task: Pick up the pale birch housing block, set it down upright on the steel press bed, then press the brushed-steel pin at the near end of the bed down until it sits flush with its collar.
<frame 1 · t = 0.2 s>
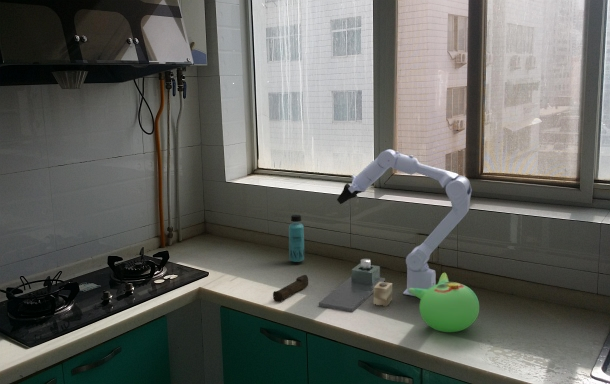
hand: (342, 199, 201), 31 cm above the worktop, tool tilted 45°, fingers open, 7 cm apart
hand tool: (291, 293, 198), on the worktop
press pin: (365, 265, 205), point 6 cm above the worktop, slide at 0.0 cm
housing: (382, 302, 187), on the worktop
beverage bottle: (297, 263, 230), on the worktop
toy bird: (447, 328, 167), on the worktop
press bed: (363, 284, 204), on the worktop
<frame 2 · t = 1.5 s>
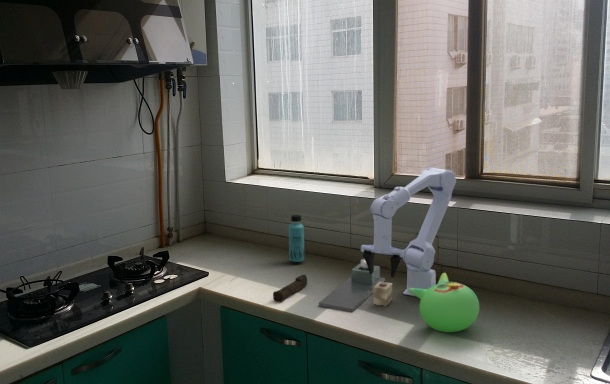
hand: (382, 274, 186), 10 cm above the worktop, tool pointing down, fingers open, 7 cm apart
nothing on the worktop moved.
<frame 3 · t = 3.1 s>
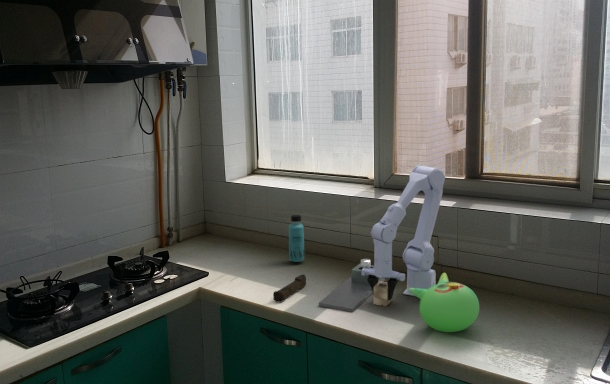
hand: (382, 298, 187), 1 cm above the worktop, tool pointing down, fingers closed on housing, 4 cm apart
housing: (382, 302, 187), on the worktop, touching gripper
everything else where it was.
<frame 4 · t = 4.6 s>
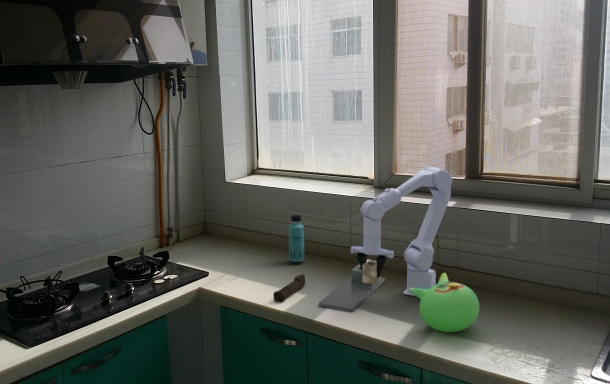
hand: (371, 275, 188), 8 cm above the worktop, tool pointing down, fingers closed on housing, 4 cm apart
housing: (371, 280, 188), point 7 cm above the worktop, touching gripper
everything else where it was.
when the fingers open (4 cm above the worktop, at t = 6.3 s): housing drops 1 cm, resting on press bed.
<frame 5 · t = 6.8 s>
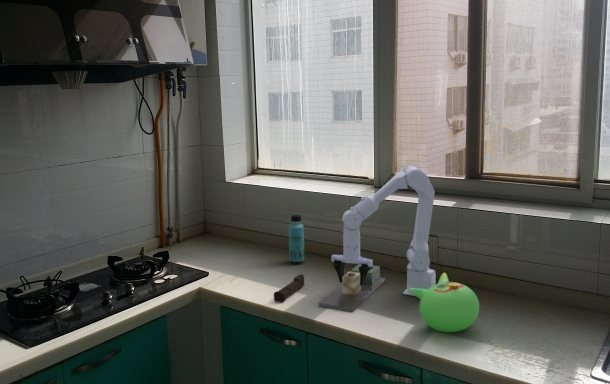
hand: (351, 283, 194), 4 cm above the worktop, tool pointing down, fingers open, 7 cm apart
housing: (351, 291, 194), point 1 cm above the worktop, touching press bed
everything else where it was.
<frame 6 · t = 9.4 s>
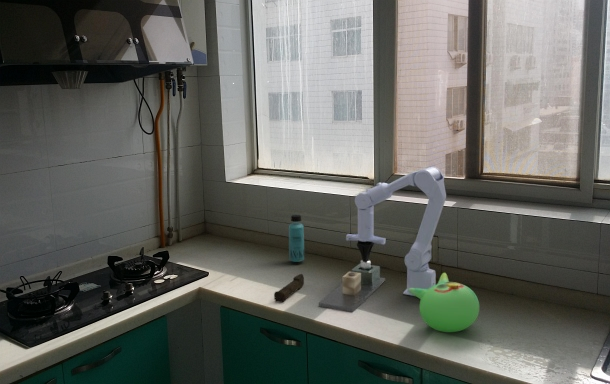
hand: (365, 261, 204), 8 cm above the worktop, tool pointing down, fingers closed, pressing on press pin
press pin: (365, 266, 205), point 6 cm above the worktop, slide at 0.3 cm, touching gripper
everything else where it was.
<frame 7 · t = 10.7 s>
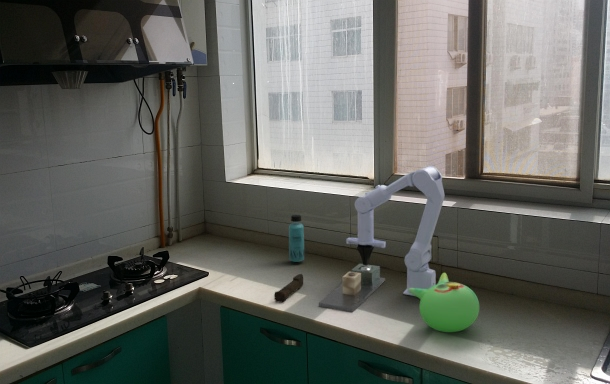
hand: (365, 264, 204), 7 cm above the worktop, tool pointing down, fingers closed
press pin: (365, 273, 205), point 3 cm above the worktop, slide at 3.0 cm
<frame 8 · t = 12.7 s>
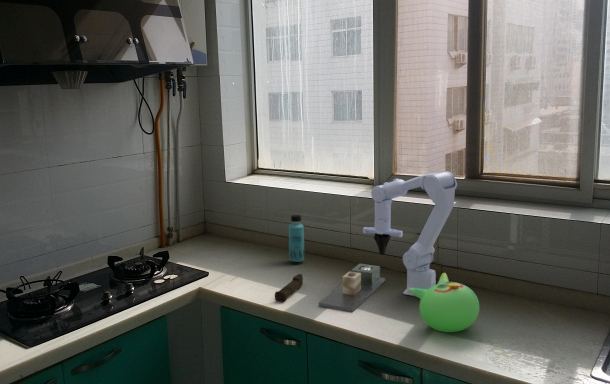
hand: (382, 253, 205), 10 cm above the worktop, tool pointing down, fingers closed
nothing on the worktop moved.
at the end: housing inside the target area on the press bed (0.1 cm from its centre), point 1.2 cm above the press bed's base; housing tilted 0°; press pin slide at 3.0 cm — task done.
